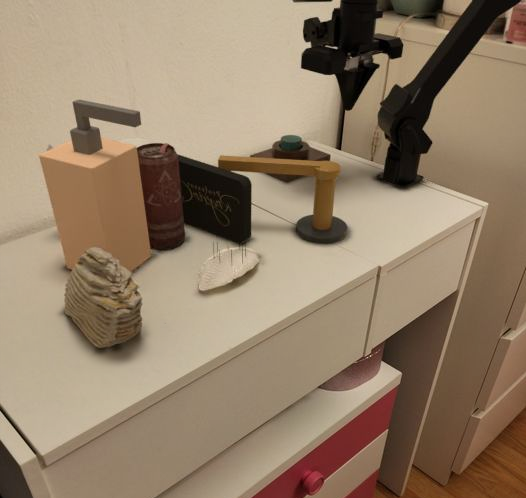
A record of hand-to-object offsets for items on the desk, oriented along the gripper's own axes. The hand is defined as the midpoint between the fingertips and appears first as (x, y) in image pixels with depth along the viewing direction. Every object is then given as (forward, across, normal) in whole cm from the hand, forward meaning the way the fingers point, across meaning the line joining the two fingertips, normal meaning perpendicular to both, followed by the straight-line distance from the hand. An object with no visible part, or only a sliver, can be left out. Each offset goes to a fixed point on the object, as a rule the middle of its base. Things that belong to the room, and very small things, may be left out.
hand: (347, 110), depth 93 cm
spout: (+5, +21, +5) cm, 22 cm away
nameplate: (+13, +29, -5) cm, 32 cm away
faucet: (+13, +16, +10) cm, 23 cm away
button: (+9, +1, -12) cm, 15 cm away
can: (+13, +36, -4) cm, 39 cm away
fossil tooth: (+13, +54, +9) cm, 56 cm away
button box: (+13, +1, -12) cm, 18 cm away
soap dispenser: (+13, +45, -2) cm, 47 cm away
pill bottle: (+13, +33, -14) cm, 39 cm away
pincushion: (+13, +35, +10) cm, 39 cm away
